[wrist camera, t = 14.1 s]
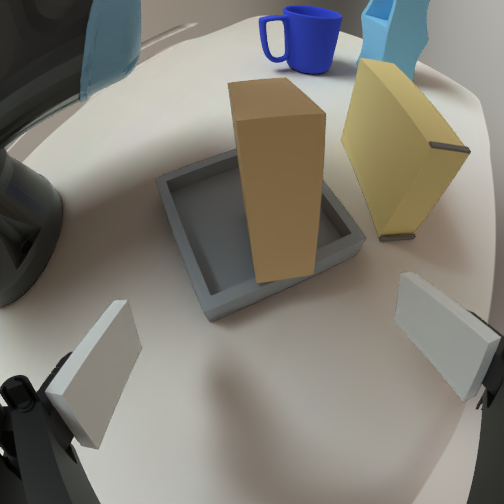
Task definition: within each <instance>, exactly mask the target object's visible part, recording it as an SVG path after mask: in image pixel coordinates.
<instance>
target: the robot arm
mask: <svg viewBox="0 0 504 504" xmlns="http://www.w3.org/2000/svg"><path fill="white" fill-rule="evenodd" d="M140 50H141V0H0V306H5V305H7V304H10V303H12V302H13V301H15V300H17V299H18V298H19V297H20V296H22V295H23V294H24V293H25V292H26V291H27V290H28V289H29V288H30V287H31V285H32V284H33V283H34V282H35V280H36V279H37V278H38V276H39V275H40V273H41V272H42V270H43V269H44V267H45V265H46V263H47V262H48V260H49V258H50V256H51V254H52V251H53V249H54V247H55V244H56V241H57V239H58V235H59V232H60V228H61V223H62V212H63V210H62V202H61V198H60V196H59V194H58V192H57V191H56V190H55V189H54V187H53V186H52V185H51V183H50V182H49V181H48V180H47V179H46V178H45V177H44V176H42V175H40V174H38V173H36V172H35V171H33V170H32V169H30V168H29V167H27V166H26V165H24V164H22V163H21V162H19V161H18V160H16V159H14V158H13V157H11V156H10V155H9V154H8V153H7V151H6V150H5V148H4V147H5V146H6V145H8V144H9V143H11V142H12V141H13V140H15V139H16V138H18V137H19V136H21V135H22V134H24V133H25V132H27V131H28V130H30V129H31V128H33V127H35V126H36V125H38V124H39V123H41V122H43V121H45V120H46V119H48V118H50V117H51V116H53V115H55V114H57V113H59V112H60V111H62V110H64V109H66V108H68V107H70V106H72V105H74V104H76V103H78V102H81V103H82V102H84V101H86V100H87V98H88V97H89V96H90V95H92V94H94V93H96V92H98V91H100V90H102V89H104V88H106V87H108V86H110V85H112V84H114V83H116V82H118V81H120V80H122V79H124V78H126V77H127V76H128V75H129V74H130V73H131V72H132V71H133V70H134V68H135V67H136V65H137V63H138V60H139V56H140ZM394 322H395V323H396V324H397V325H398V326H399V327H400V329H401V330H402V331H403V332H404V333H405V334H406V335H407V336H408V337H409V339H410V340H411V341H412V342H413V343H414V344H415V345H416V347H417V348H418V349H419V350H420V351H421V352H422V353H423V355H424V356H425V357H426V358H427V359H428V360H429V361H430V363H431V364H432V365H433V366H434V367H435V369H436V370H437V371H438V372H439V373H440V374H441V376H442V377H443V378H444V379H445V380H446V382H447V383H448V384H449V385H450V387H451V388H452V389H453V390H454V391H455V393H456V394H457V395H458V396H459V398H460V399H461V400H462V401H463V402H464V401H466V400H468V399H470V398H472V397H474V396H476V394H477V392H478V391H479V388H480V386H481V384H483V385H484V386H485V387H486V389H485V391H484V393H483V395H482V397H481V399H480V401H479V403H478V404H477V407H476V409H478V408H479V406H480V405H481V404H482V403H483V405H482V409H481V410H482V421H481V432H480V440H479V448H478V455H477V460H476V466H475V471H474V476H473V481H472V485H471V490H470V493H469V497H468V501H467V504H504V336H503V335H501V334H500V333H499V332H498V331H496V330H495V329H494V328H492V327H491V326H490V325H489V324H488V325H487V323H486V322H485V321H484V320H481V318H480V317H479V316H477V315H476V314H475V313H473V312H470V311H468V310H466V309H465V308H463V307H462V306H461V305H459V304H458V303H457V302H455V301H454V300H452V299H451V298H450V297H448V296H447V295H446V294H444V293H443V292H441V291H440V290H439V289H437V288H436V287H434V286H433V285H432V284H430V283H429V282H427V281H426V280H424V279H423V278H422V277H420V276H419V275H417V274H416V273H414V272H413V271H410V272H404V273H400V280H399V289H398V296H397V304H396V310H395V317H394ZM141 349H142V346H141V342H140V339H139V336H138V333H137V329H136V326H135V323H134V319H133V316H132V312H131V309H130V305H129V301H128V300H114V301H113V302H112V304H111V305H110V306H109V307H108V308H107V310H106V311H105V312H104V313H103V314H102V316H101V317H100V318H99V319H98V321H97V322H96V323H95V324H94V326H93V327H92V328H91V329H90V331H89V332H88V333H87V335H86V336H85V337H84V338H83V340H82V341H81V342H80V344H79V345H78V346H77V348H76V349H75V350H74V352H70V353H68V354H67V355H66V356H64V357H63V358H62V359H61V360H60V361H59V363H58V364H57V365H56V368H54V369H53V371H52V372H51V374H50V375H49V376H48V377H47V379H46V380H45V382H44V383H43V384H42V386H41V387H40V389H39V390H38V391H37V393H36V391H35V389H34V388H33V386H32V384H31V383H30V381H29V379H28V378H27V377H26V376H24V375H17V376H13V377H11V378H9V379H7V380H6V381H5V382H4V383H3V384H2V386H1V387H0V394H1V396H2V397H3V399H4V400H5V402H6V403H7V405H8V406H2V405H1V404H0V447H1V448H2V449H3V450H4V455H3V456H2V455H1V454H0V504H100V502H99V500H98V498H97V496H96V494H95V492H94V490H93V488H92V486H91V484H90V482H89V480H88V478H87V476H86V474H85V471H84V469H83V467H82V465H81V462H80V460H79V457H78V455H77V453H76V450H75V448H74V446H73V445H72V444H71V441H72V439H73V437H75V438H76V439H77V441H78V442H79V443H80V445H81V446H85V447H89V448H93V449H98V450H99V447H100V444H101V442H102V439H103V437H104V434H105V432H106V429H107V427H108V424H109V422H110V419H111V417H112V415H113V412H114V410H115V407H116V405H117V403H118V400H119V398H120V396H121V393H122V391H123V389H124V387H125V384H126V382H127V380H128V378H129V375H130V373H131V371H132V369H133V366H134V364H135V362H136V360H137V358H138V356H139V353H140V351H141Z"/></svg>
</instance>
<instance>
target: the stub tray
mask: <svg viewBox="0 0 504 504" xmlns="http://www.w3.org/2000/svg"><path fill="white" fill-rule="evenodd" d="M155 181H156V184H157V187H158V190H159V193H160V196H161V199H162V202H163V205H164V208H165V211H166V214H167V217H168V220H169V223H170V226H171V229H172V231H173V234H174V237H175V240H176V243H177V245H178V248H179V251H180V254H181V256H182V259H183V262H184V264H185V267H186V269H187V272H188V275H189V277H190V280H191V282H192V285H193V287H194V290H195V292H196V295H197V297H198V300H199V302H200V305H201V307H202V310H203V312H204V314H205V315H206V317H207V318H208V320H209V321H210V322H212V321H215V320H217V319H219V318H222V317H224V316H226V315H229V314H231V313H233V312H236V311H238V310H240V309H242V308H245V307H247V306H249V305H251V304H254V303H256V302H258V301H260V300H263V299H265V298H267V297H269V296H271V295H274V294H276V293H278V292H280V291H282V290H285V289H287V288H289V287H291V286H293V285H295V284H297V283H299V282H302V281H304V280H306V279H308V278H310V277H312V276H314V275H316V274H318V273H320V272H322V271H325V270H327V269H329V268H331V267H333V266H335V265H337V264H339V263H341V262H343V261H345V260H347V259H349V258H351V257H353V256H355V255H357V253H358V251H359V250H360V248H361V247H362V245H363V243H364V242H365V240H366V237H365V235H364V234H363V232H362V231H361V230H360V228H359V227H358V225H357V224H356V223H355V221H354V220H353V218H352V217H351V216H350V214H349V213H348V212H347V210H346V209H345V208H344V206H343V205H342V204H341V202H340V201H339V200H338V198H337V197H336V196H335V194H334V193H333V192H332V190H331V189H330V188H329V187H328V185H327V184H326V183H325V182H324V180H323V182H322V195H321V207H320V218H319V229H318V238H317V248H316V256H315V265H314V273H313V275H308V276H302V277H296V278H289V279H283V280H277V281H270V282H264V283H256V277H255V270H254V264H253V258H252V252H251V246H250V240H249V234H248V228H247V222H246V215H245V209H244V202H243V194H242V187H241V179H240V172H239V164H238V157H237V150H236V149H234V150H231V151H228V152H225V153H222V154H219V155H216V156H213V157H210V158H208V159H205V160H202V161H199V162H196V163H194V164H191V165H188V166H186V167H183V168H180V169H178V170H175V171H173V172H170V173H168V174H165V175H163V176H160V177H158V178H155Z"/></svg>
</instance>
